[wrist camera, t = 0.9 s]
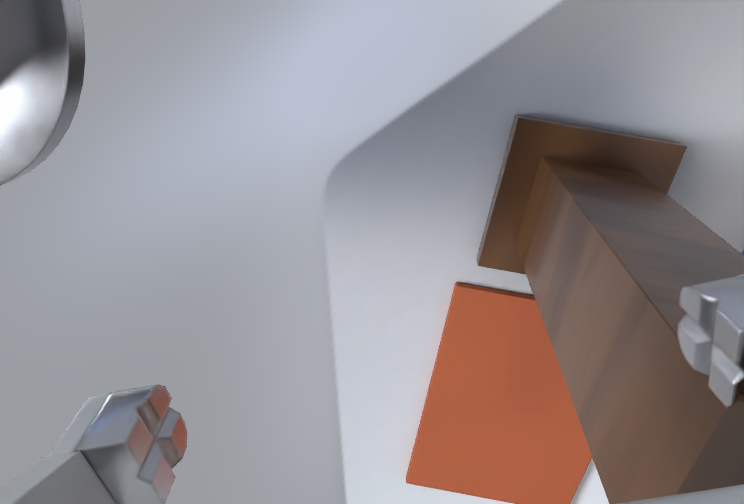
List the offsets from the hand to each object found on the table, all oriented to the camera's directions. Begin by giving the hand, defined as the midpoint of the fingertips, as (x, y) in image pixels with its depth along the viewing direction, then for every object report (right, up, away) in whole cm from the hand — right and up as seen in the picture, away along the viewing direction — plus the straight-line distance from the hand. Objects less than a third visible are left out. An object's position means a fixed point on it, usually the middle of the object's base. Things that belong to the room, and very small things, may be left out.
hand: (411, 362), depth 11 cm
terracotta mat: (+11, -10, +30) cm, 34 cm away
